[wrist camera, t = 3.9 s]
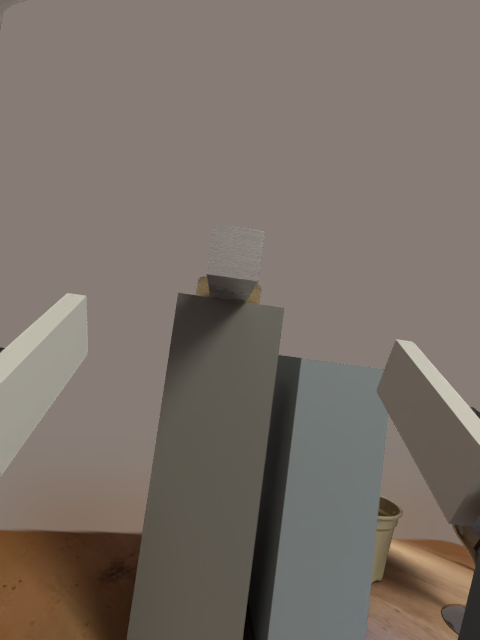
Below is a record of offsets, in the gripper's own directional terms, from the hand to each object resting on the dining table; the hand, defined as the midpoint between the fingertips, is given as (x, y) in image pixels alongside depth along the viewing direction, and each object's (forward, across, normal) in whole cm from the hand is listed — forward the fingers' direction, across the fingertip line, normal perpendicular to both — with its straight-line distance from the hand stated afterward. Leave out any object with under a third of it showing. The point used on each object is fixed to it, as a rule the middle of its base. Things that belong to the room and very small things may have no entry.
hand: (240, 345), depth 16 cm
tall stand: (+7, 0, -34) cm, 35 cm away
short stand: (+7, +10, -34) cm, 36 cm away
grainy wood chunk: (+16, 0, -5) cm, 17 cm away
